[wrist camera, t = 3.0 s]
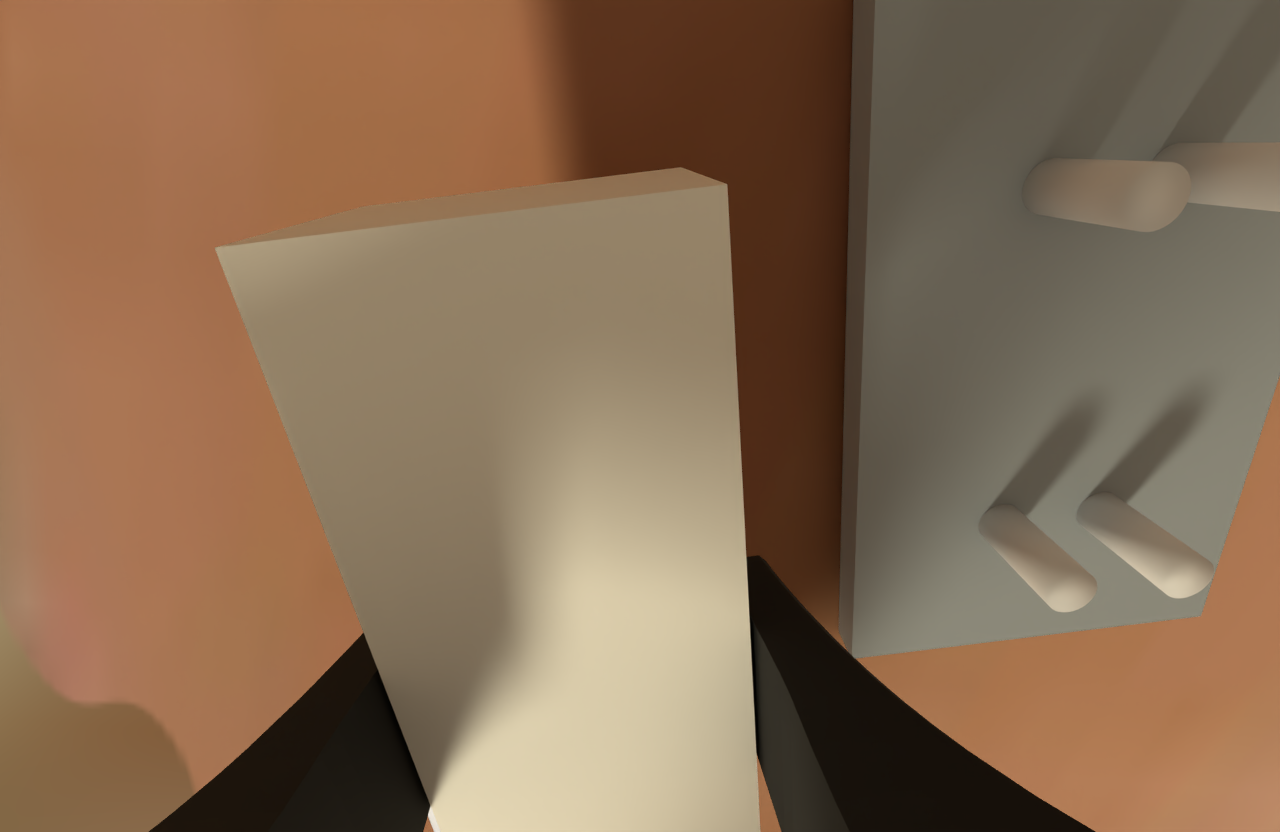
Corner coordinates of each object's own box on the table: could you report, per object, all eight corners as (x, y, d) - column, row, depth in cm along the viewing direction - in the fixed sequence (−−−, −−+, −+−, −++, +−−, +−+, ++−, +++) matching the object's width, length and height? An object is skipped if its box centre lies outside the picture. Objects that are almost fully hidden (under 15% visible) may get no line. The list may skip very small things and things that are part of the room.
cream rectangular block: (728, 770, 15) (767, 966, 12) (528, 795, 15) (505, 998, 12) (681, 166, 10) (727, 183, 6) (362, 206, 10) (214, 247, 6)
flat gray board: (1168, 590, 20) (1298, 694, 17) (838, 631, 20) (891, 743, 17) (1367, -80, 13) (1677, -171, 9) (854, -17, 13) (955, -83, 9)
